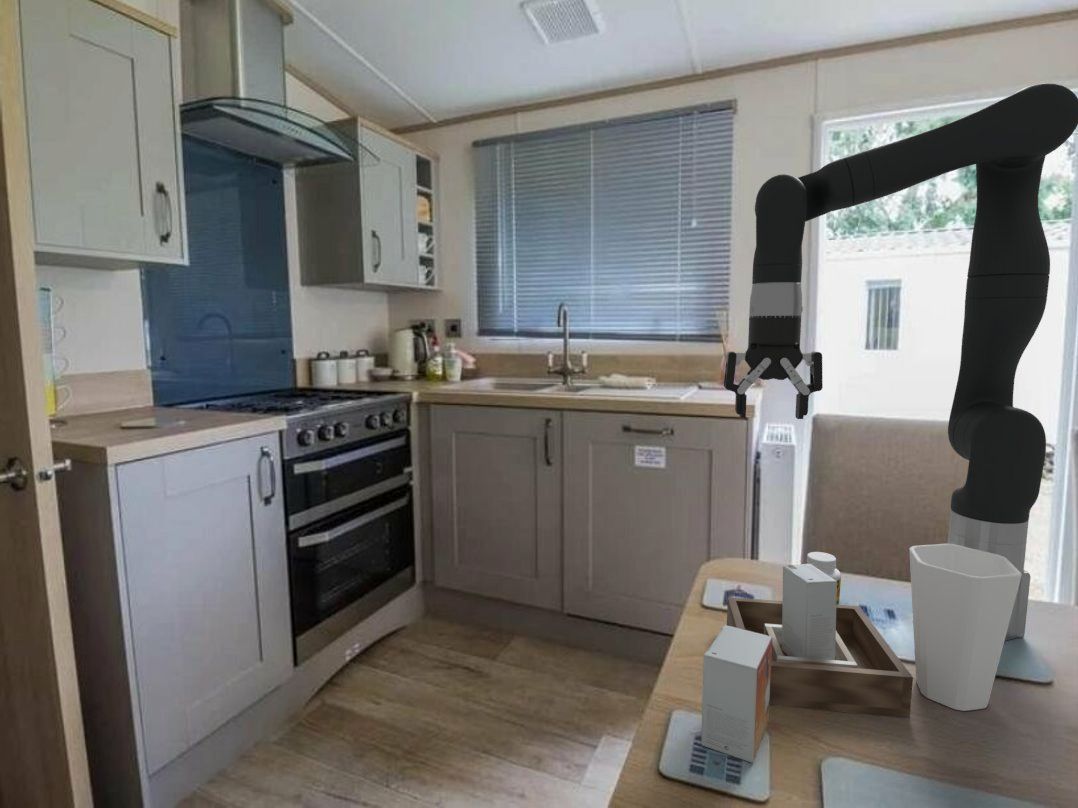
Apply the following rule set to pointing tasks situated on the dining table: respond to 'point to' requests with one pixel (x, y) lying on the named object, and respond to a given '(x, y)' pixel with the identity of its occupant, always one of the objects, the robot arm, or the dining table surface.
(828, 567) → the supplement bottle
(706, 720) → the small box
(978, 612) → the cup
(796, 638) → the skincare box
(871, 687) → the walled box
